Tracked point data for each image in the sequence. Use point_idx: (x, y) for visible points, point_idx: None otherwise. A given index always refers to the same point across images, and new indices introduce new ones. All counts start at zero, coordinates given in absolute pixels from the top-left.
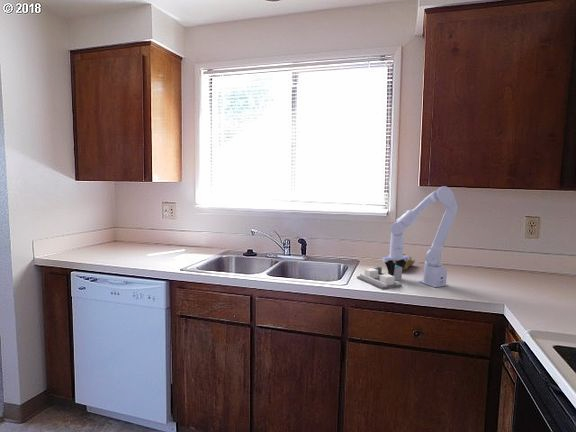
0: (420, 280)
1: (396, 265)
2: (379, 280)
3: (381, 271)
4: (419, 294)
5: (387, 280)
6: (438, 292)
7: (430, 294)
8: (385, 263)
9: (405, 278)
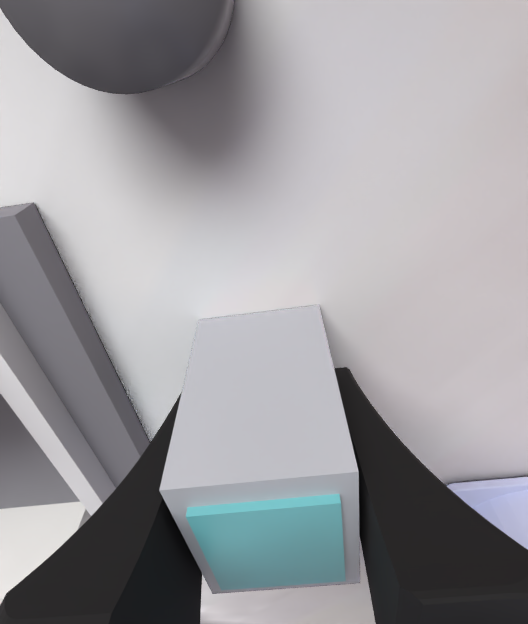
0: (471, 491)
1: (323, 537)
2: (4, 464)
3: (207, 57)
4: (223, 614)
5: None
6: (365, 610)
7: (289, 619)
8: (37, 581)
9: (420, 377)
